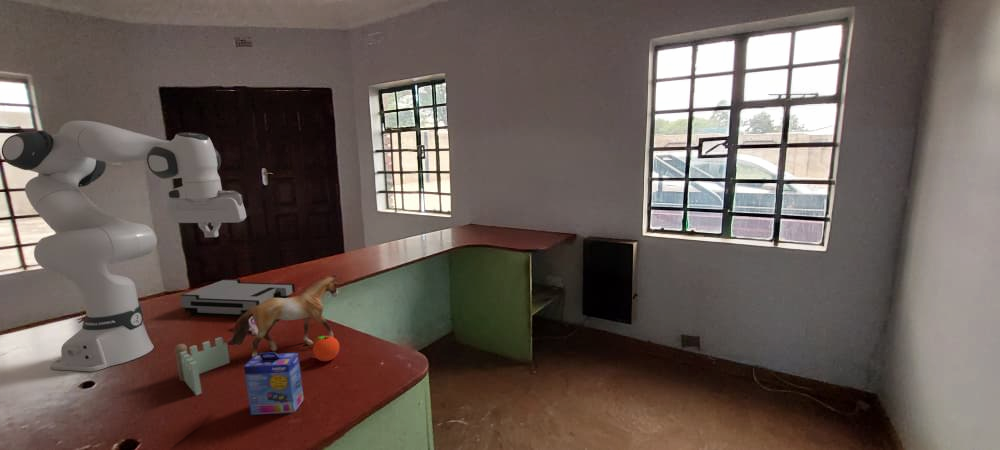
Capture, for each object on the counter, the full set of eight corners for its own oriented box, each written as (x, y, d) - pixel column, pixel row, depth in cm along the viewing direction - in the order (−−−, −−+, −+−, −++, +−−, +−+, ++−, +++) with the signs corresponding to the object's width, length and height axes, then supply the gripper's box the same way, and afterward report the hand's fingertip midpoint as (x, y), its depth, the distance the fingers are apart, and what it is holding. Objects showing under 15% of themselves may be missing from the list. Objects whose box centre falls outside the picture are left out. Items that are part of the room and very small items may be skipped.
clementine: (305, 363, 111) (303, 339, 110) (324, 351, 118) (322, 329, 116) (328, 367, 109) (325, 343, 107) (345, 355, 115) (343, 332, 114)
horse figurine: (343, 332, 131) (337, 272, 127) (348, 341, 124) (342, 278, 121) (230, 360, 114) (220, 292, 110) (229, 372, 107) (219, 300, 104)
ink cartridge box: (248, 416, 88) (240, 356, 86) (261, 401, 94) (253, 344, 91) (294, 413, 89) (287, 353, 87) (304, 398, 94) (298, 342, 92)
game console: (258, 320, 144) (255, 298, 142) (182, 316, 149) (179, 295, 147) (296, 300, 164) (293, 281, 162) (228, 297, 169) (225, 278, 168)
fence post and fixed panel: (181, 382, 101) (175, 347, 100) (177, 379, 103) (171, 345, 101) (230, 364, 110) (226, 331, 109) (227, 361, 112) (222, 329, 110)
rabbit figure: (271, 337, 132) (253, 319, 140) (270, 321, 130) (252, 304, 139) (250, 344, 127) (233, 325, 136) (249, 327, 125) (232, 310, 134)
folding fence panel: (184, 380, 102) (179, 352, 100) (189, 379, 103) (185, 350, 101) (196, 395, 95) (191, 364, 94) (201, 393, 96) (196, 362, 95)
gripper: (246, 188, 117) (253, 233, 120) (175, 189, 116) (185, 234, 120) (233, 192, 111) (241, 239, 114) (158, 192, 110) (168, 240, 113)
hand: (212, 236), depth 117 cm, fingers closed
